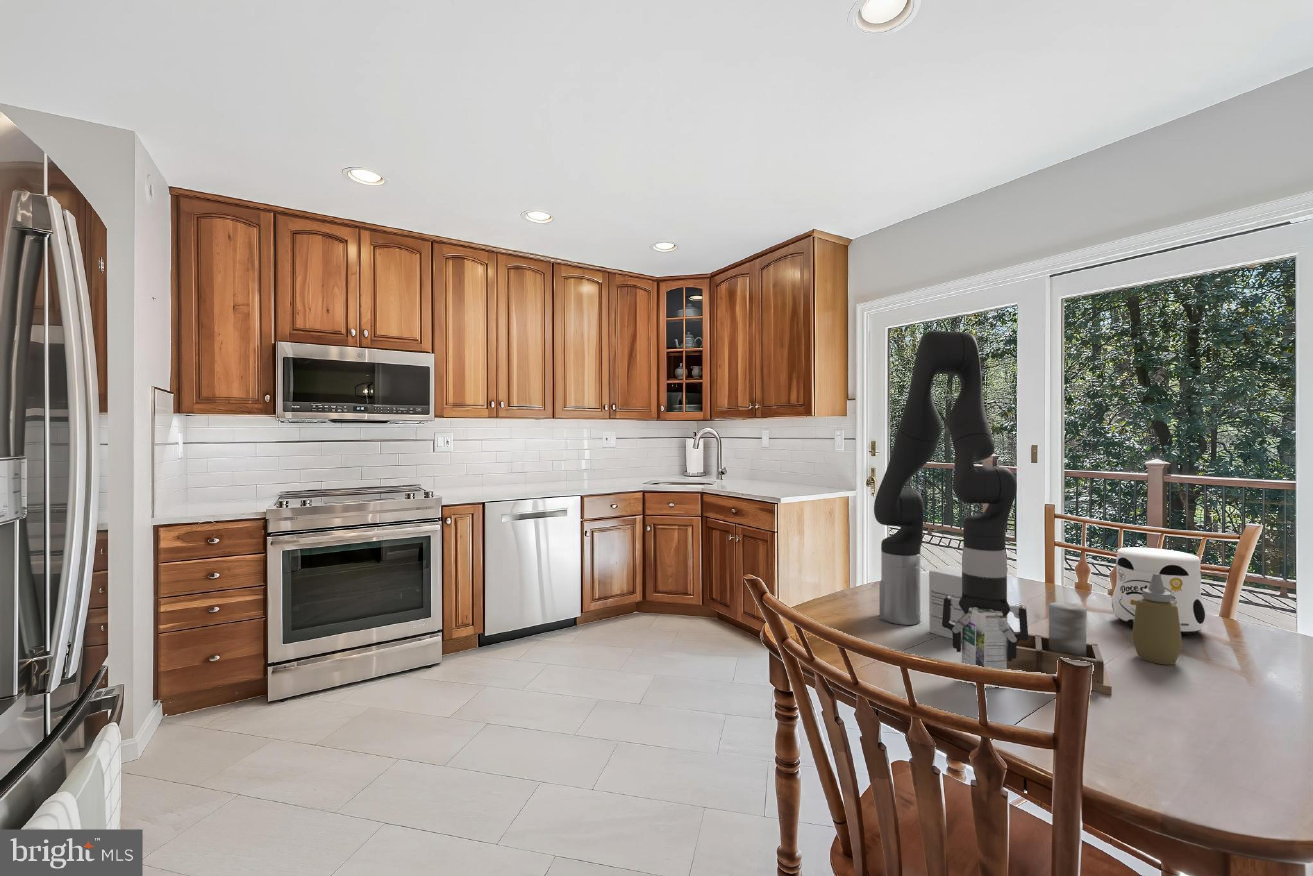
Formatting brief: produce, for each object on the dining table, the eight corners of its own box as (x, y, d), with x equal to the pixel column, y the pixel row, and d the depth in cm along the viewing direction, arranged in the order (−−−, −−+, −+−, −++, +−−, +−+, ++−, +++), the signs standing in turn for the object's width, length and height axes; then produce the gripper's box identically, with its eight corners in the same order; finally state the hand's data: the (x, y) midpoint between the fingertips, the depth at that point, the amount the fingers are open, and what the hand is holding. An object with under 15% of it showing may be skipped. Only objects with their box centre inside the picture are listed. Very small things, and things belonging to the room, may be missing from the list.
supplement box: (947, 624, 144) (947, 564, 144) (985, 635, 137) (985, 571, 137) (927, 632, 139) (927, 569, 139) (965, 643, 132) (966, 577, 131)
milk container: (1126, 634, 137) (1126, 558, 136) (1101, 612, 153) (1102, 544, 153) (1221, 644, 130) (1222, 564, 130) (1185, 620, 146) (1185, 549, 146)
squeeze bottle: (1170, 655, 124) (1170, 571, 124) (1190, 669, 116) (1191, 580, 116) (1124, 650, 127) (1125, 568, 126) (1141, 664, 119) (1142, 577, 119)
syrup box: (960, 676, 114) (960, 603, 114) (988, 675, 114) (988, 602, 114) (978, 689, 108) (978, 612, 108) (1008, 688, 109) (1008, 611, 109)
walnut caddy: (974, 669, 117) (974, 602, 117) (977, 649, 128) (977, 588, 127) (1111, 694, 106) (1111, 621, 106) (1103, 671, 116) (1104, 604, 116)
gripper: (940, 570, 112) (940, 654, 112) (1028, 580, 104) (1028, 670, 104) (944, 562, 118) (944, 642, 118) (1028, 571, 110) (1028, 656, 111)
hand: (984, 655), depth 111 cm, fingers open, 8 cm apart
